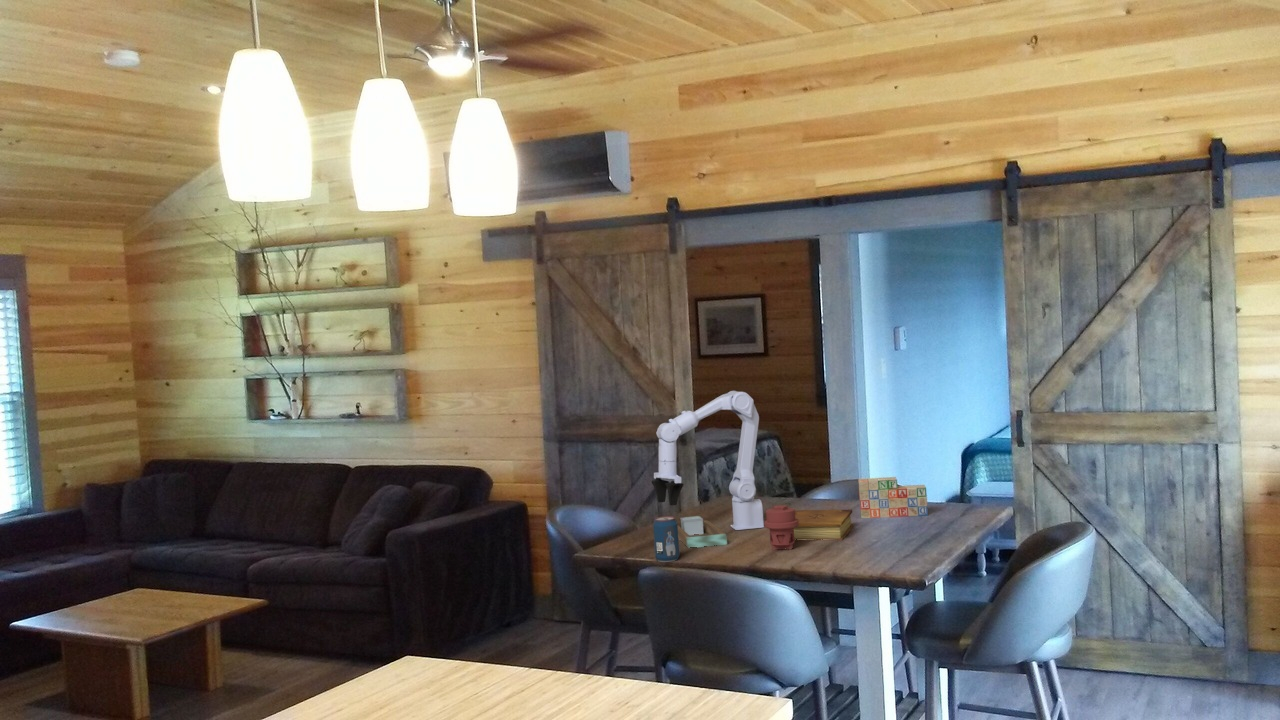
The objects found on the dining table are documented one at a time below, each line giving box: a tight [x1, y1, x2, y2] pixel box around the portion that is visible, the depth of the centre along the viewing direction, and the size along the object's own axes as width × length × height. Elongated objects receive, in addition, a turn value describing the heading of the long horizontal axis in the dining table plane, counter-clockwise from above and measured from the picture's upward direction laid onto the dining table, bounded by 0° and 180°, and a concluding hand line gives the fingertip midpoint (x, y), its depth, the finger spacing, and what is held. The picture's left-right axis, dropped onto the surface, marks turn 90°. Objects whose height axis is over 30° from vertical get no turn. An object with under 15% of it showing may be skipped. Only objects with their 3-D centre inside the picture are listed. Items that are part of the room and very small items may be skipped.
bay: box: [677, 519, 728, 549], centre depth 352 cm, size 12×28×3 cm, turn 8°
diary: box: [794, 509, 854, 541], centre depth 348 cm, size 23×19×6 cm
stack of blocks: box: [857, 476, 929, 519], centre depth 369 cm, size 21×6×12 cm, turn 80°
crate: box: [679, 515, 704, 536], centre depth 361 cm, size 6×6×5 cm
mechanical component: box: [763, 504, 799, 550], centre depth 327 cm, size 12×10×10 cm
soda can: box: [652, 515, 680, 563], centre depth 322 cm, size 7×7×12 cm
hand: (667, 503), depth 359 cm, fingers open, 7 cm apart
